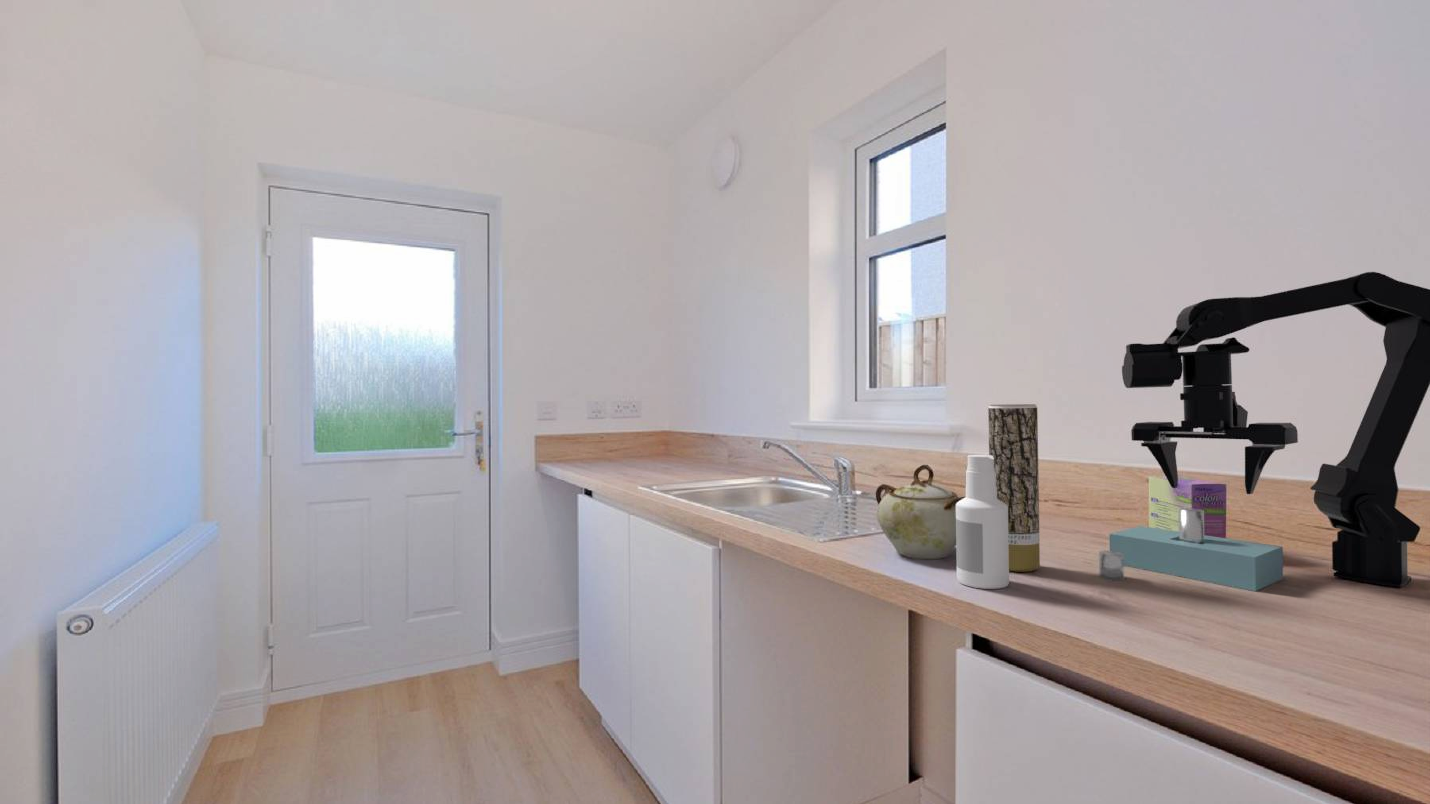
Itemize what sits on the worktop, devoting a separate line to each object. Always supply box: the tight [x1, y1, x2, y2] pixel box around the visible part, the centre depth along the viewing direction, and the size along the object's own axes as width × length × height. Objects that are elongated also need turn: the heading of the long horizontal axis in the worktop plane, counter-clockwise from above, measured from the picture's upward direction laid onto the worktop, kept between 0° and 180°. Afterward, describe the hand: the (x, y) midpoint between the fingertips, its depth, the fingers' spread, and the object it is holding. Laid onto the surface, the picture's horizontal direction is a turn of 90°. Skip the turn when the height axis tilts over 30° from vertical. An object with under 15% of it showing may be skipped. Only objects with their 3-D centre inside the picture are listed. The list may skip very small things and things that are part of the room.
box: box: [1148, 475, 1227, 538], centre depth 105 cm, size 10×6×12 cm, turn 179°
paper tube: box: [987, 403, 1041, 573], centre depth 96 cm, size 7×7×25 cm
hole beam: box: [1109, 525, 1284, 592], centre depth 93 cm, size 18×10×4 cm, turn 32°
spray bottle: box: [955, 454, 1010, 590], centre depth 89 cm, size 7×7×18 cm
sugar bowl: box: [875, 464, 966, 560], centre depth 106 cm, size 20×15×15 cm
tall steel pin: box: [1179, 508, 1204, 544], centre depth 93 cm, size 3×3×9 cm
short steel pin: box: [1098, 550, 1125, 581], centre depth 90 cm, size 3×3×4 cm
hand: (1210, 490), depth 93 cm, fingers open, 9 cm apart
